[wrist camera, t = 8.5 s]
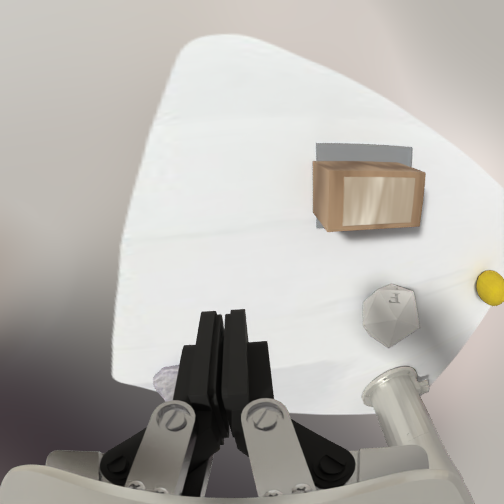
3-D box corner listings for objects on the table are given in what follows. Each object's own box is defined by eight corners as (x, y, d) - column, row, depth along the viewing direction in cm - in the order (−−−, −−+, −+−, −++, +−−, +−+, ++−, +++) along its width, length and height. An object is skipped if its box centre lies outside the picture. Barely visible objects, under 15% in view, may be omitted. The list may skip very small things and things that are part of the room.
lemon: (473, 265, 37) (500, 289, 30) (491, 260, 37) (518, 282, 30) (465, 291, 40) (490, 317, 33) (483, 286, 40) (507, 309, 33)
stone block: (152, 365, 46) (185, 402, 48) (143, 381, 41) (179, 419, 43) (204, 342, 44) (237, 383, 46) (199, 359, 39) (235, 401, 41)
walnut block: (312, 161, 30) (398, 162, 30) (312, 212, 32) (394, 209, 32) (329, 171, 24) (426, 173, 24) (328, 232, 27) (420, 227, 27)
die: (412, 284, 39) (430, 286, 30) (406, 339, 38) (421, 354, 29) (363, 281, 42) (369, 282, 32) (357, 336, 41) (360, 351, 32)
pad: (411, 147, 29) (412, 147, 29) (405, 222, 34) (406, 223, 33) (316, 143, 29) (316, 143, 29) (316, 227, 33) (316, 228, 33)
